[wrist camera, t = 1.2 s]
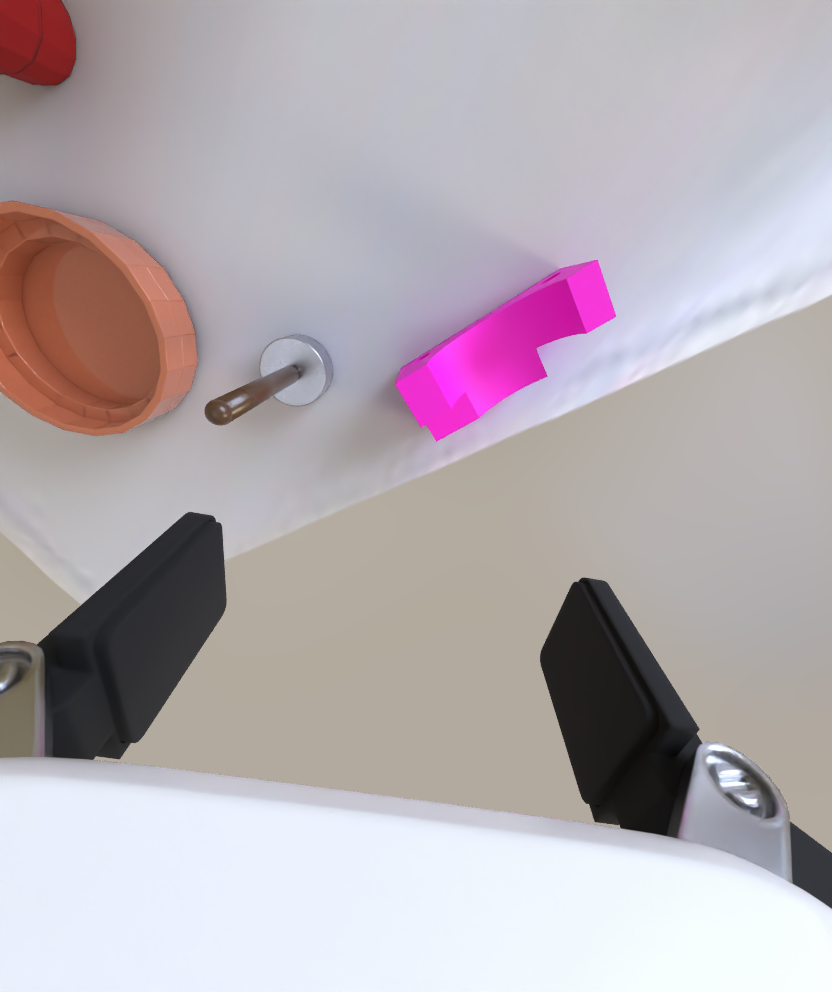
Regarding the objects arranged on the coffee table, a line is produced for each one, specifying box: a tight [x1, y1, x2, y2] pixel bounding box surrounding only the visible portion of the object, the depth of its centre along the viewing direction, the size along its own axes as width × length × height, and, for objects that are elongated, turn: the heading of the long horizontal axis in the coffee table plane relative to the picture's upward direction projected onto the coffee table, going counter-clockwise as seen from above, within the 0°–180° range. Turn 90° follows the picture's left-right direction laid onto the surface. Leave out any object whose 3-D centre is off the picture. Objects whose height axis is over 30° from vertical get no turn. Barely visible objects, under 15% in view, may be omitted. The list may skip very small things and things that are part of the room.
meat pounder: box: [205, 335, 333, 425], centre depth 28 cm, size 6×6×16 cm
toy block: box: [395, 260, 616, 442], centre depth 31 cm, size 15×6×8 cm, turn 121°
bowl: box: [0, 201, 197, 436], centre depth 32 cm, size 16×16×5 cm
